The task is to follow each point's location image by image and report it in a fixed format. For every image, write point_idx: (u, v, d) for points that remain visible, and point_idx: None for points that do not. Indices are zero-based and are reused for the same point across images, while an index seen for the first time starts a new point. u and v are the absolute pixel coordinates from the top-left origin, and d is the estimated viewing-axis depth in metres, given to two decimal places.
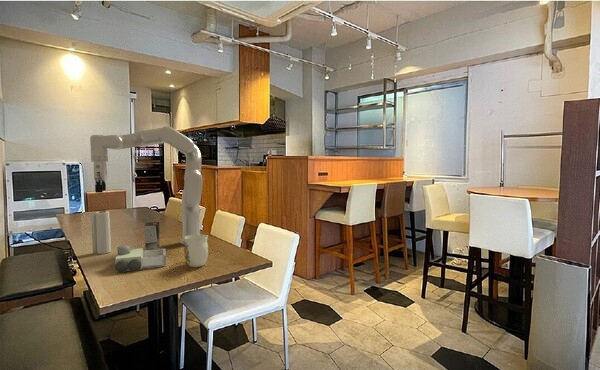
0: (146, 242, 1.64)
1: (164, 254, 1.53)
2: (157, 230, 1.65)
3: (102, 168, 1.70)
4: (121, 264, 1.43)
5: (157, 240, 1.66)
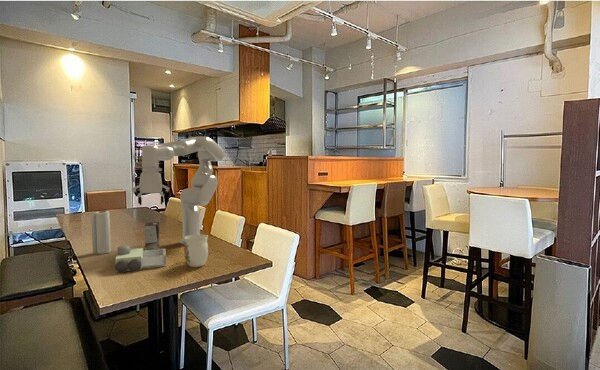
0: (146, 242, 1.64)
1: (164, 254, 1.53)
2: (157, 230, 1.65)
3: None
4: (121, 264, 1.43)
5: (157, 240, 1.66)
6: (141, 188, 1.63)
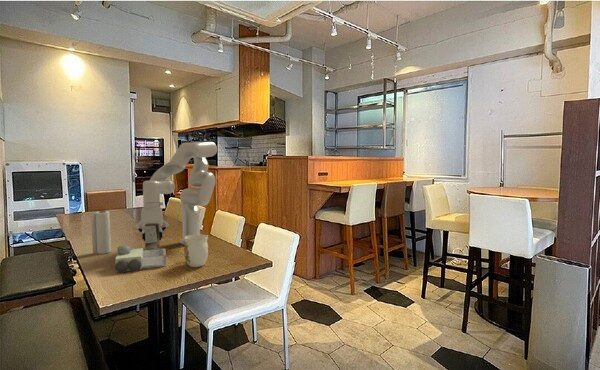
0: (146, 242, 1.64)
1: (164, 254, 1.53)
2: (157, 230, 1.65)
3: None
4: (121, 264, 1.43)
5: (157, 240, 1.66)
6: (142, 223, 1.65)
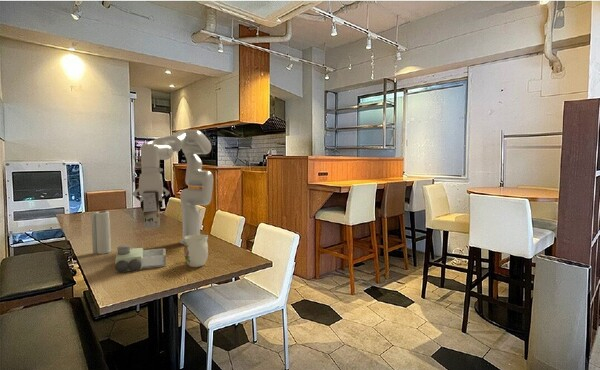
0: (144, 211, 1.49)
1: (164, 254, 1.53)
2: (157, 198, 1.50)
3: None
4: (121, 264, 1.43)
5: (157, 209, 1.51)
6: (140, 190, 1.50)
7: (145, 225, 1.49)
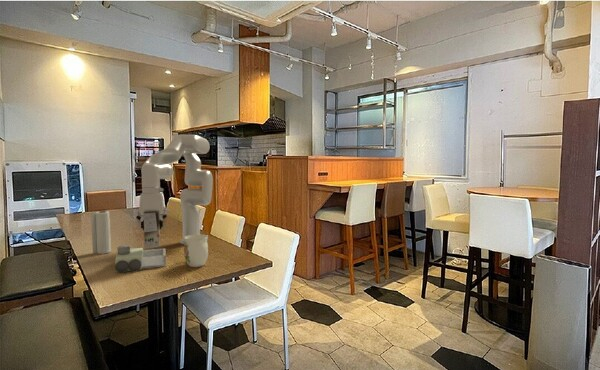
0: (145, 231, 1.49)
1: (164, 254, 1.53)
2: (157, 218, 1.51)
3: None
4: (121, 264, 1.43)
5: (157, 229, 1.51)
6: (141, 210, 1.50)
7: (145, 245, 1.50)
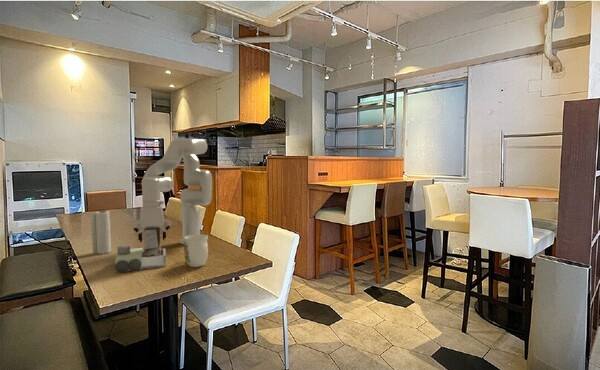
0: (146, 248, 1.50)
1: (164, 254, 1.53)
2: (158, 234, 1.52)
3: None
4: (121, 264, 1.43)
5: (158, 245, 1.52)
6: (141, 224, 1.51)
7: None
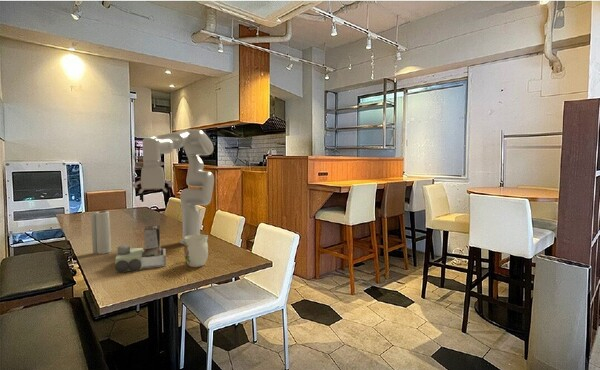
0: (146, 248, 1.50)
1: (164, 254, 1.53)
2: (158, 234, 1.52)
3: None
4: (121, 264, 1.43)
5: (158, 245, 1.52)
6: (143, 184, 1.53)
7: None
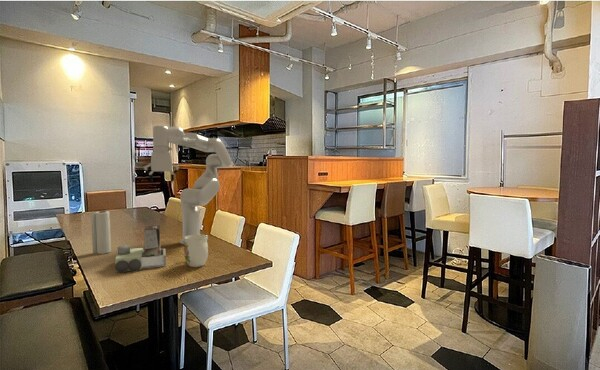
0: (146, 248, 1.50)
1: (164, 254, 1.53)
2: (158, 234, 1.52)
3: None
4: (121, 264, 1.43)
5: (158, 245, 1.52)
6: (152, 166, 1.71)
7: None
